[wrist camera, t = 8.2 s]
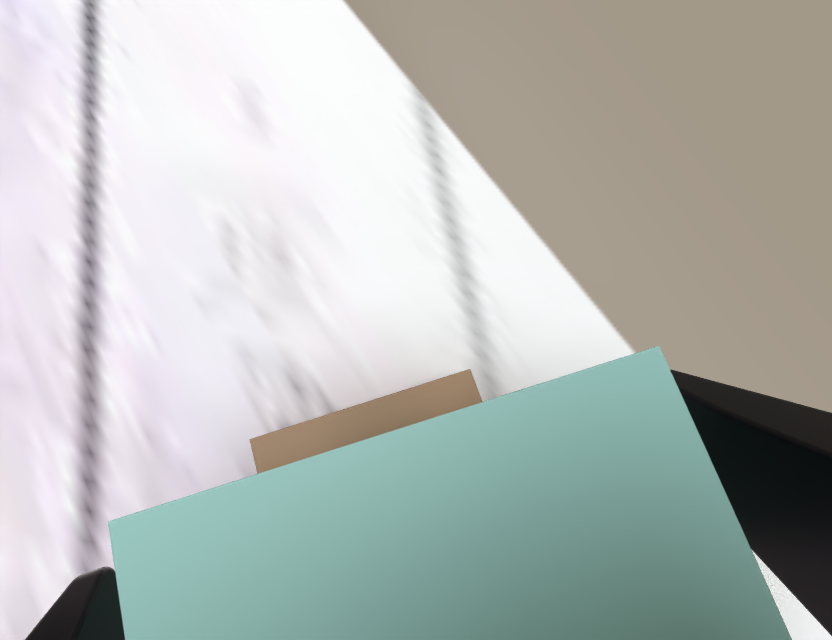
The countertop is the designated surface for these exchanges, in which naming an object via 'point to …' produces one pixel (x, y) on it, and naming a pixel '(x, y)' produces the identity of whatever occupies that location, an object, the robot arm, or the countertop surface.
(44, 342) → the countertop surface
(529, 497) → the teal block
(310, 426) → the walnut slab
